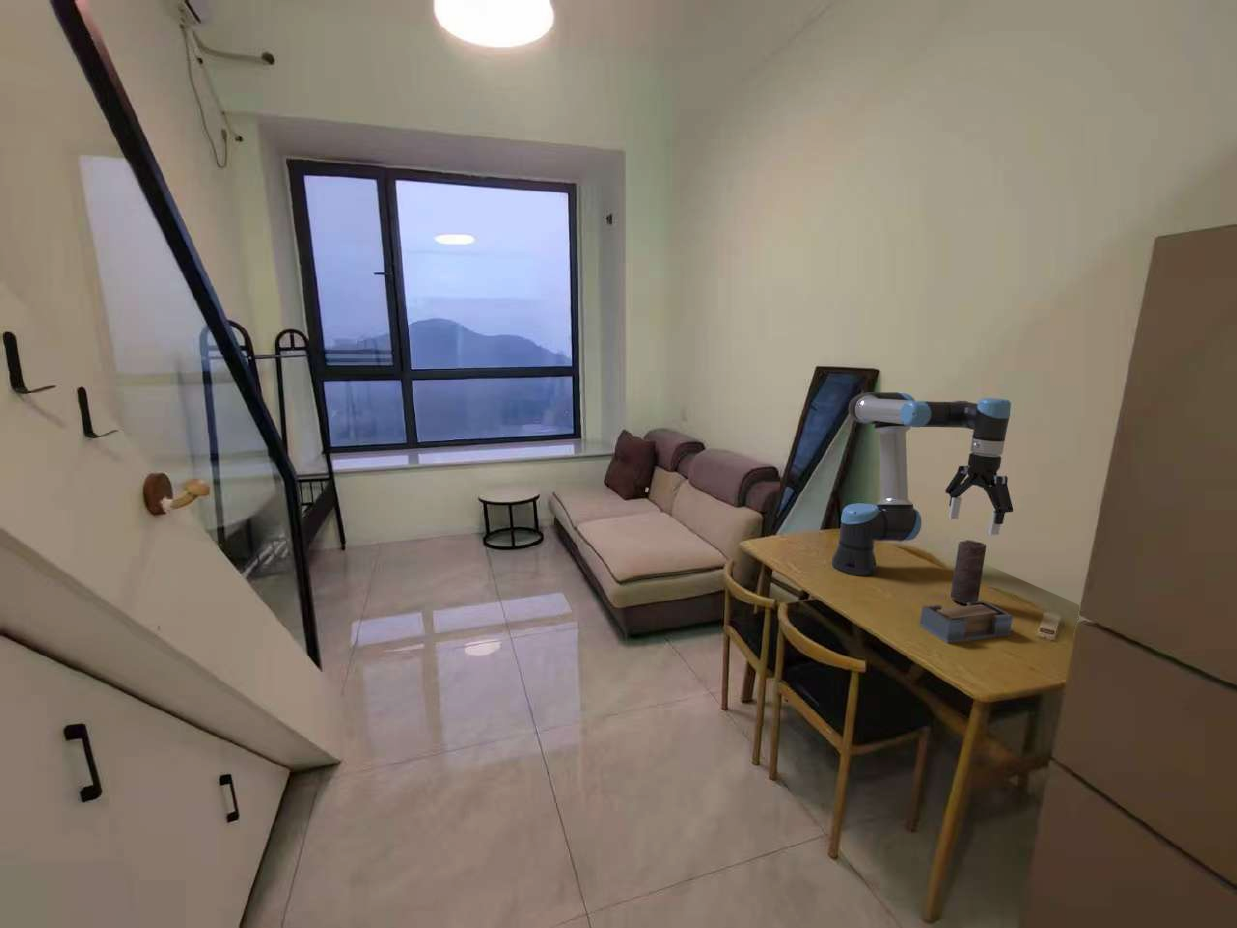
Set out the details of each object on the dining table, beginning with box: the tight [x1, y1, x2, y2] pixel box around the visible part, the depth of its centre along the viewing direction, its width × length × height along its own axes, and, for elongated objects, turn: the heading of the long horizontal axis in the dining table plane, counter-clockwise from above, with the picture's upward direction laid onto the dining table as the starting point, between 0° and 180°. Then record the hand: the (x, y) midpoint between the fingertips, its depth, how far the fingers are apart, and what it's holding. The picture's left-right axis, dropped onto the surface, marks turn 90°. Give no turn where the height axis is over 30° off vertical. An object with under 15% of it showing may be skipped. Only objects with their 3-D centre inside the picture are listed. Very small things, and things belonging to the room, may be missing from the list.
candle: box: [950, 539, 987, 605], centre depth 166 cm, size 8×7×20 cm
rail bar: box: [936, 604, 997, 633], centre depth 150 cm, size 5×16×5 cm, turn 105°
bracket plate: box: [918, 599, 1014, 644], centre depth 150 cm, size 10×21×6 cm, turn 103°
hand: (972, 526), depth 153 cm, fingers open, 13 cm apart
